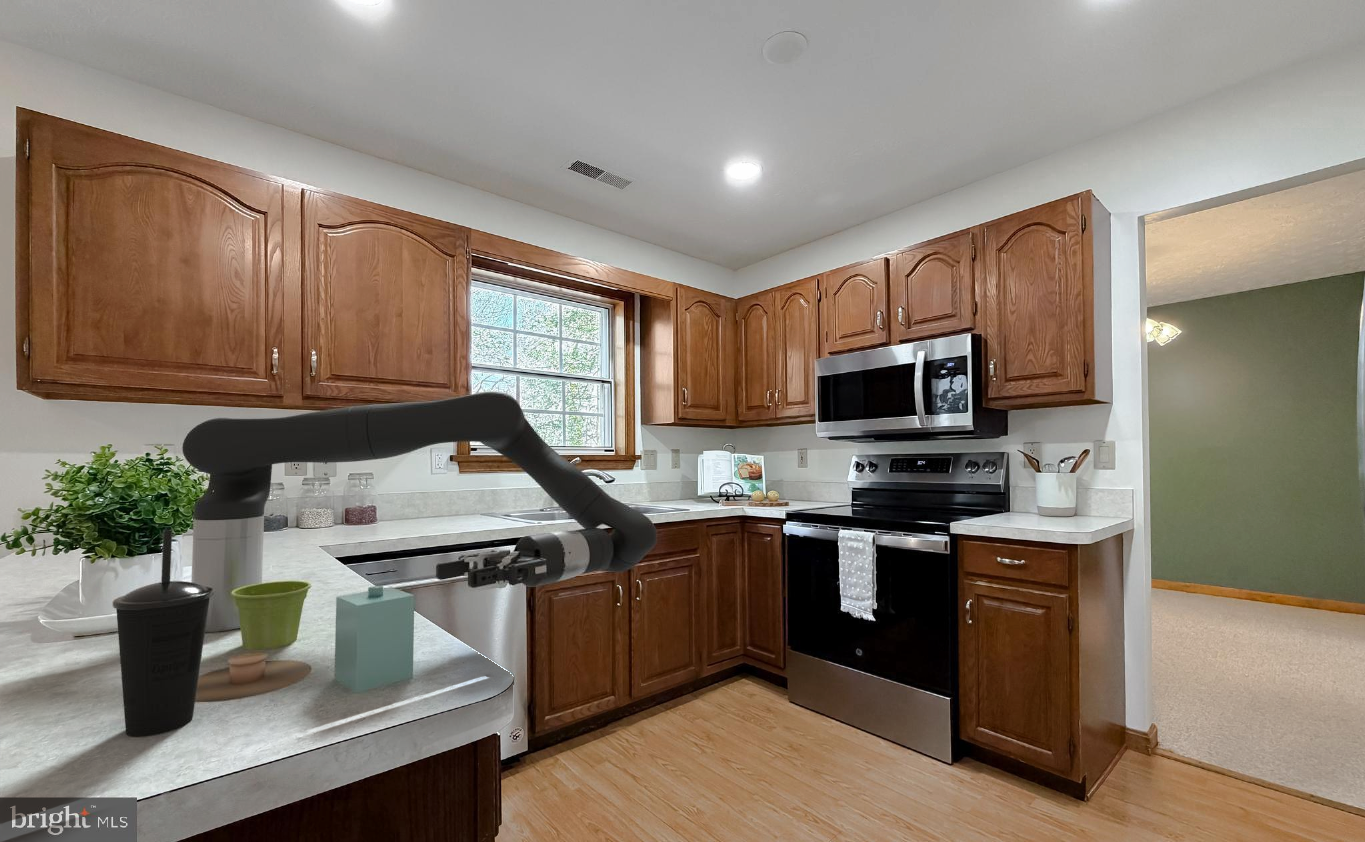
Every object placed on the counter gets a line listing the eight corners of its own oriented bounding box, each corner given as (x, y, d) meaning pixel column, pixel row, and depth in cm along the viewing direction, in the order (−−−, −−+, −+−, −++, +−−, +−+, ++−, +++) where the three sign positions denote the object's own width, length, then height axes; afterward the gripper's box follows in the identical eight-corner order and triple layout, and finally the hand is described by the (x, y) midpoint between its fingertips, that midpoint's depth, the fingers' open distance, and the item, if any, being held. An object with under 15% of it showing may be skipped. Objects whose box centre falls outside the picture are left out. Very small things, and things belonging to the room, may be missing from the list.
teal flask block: (334, 682, 72) (336, 588, 72) (389, 667, 77) (391, 579, 77) (355, 696, 68) (357, 596, 68) (412, 680, 72) (414, 586, 73)
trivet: (165, 689, 71) (165, 680, 71) (291, 660, 81) (292, 653, 81) (188, 722, 63) (189, 712, 63) (327, 685, 72) (327, 676, 72)
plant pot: (324, 640, 90) (326, 581, 90) (276, 662, 80) (278, 596, 81) (265, 638, 91) (267, 580, 91) (211, 660, 81) (213, 594, 82)
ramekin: (223, 679, 72) (224, 657, 72) (261, 670, 75) (262, 650, 75) (231, 687, 69) (232, 665, 69) (270, 678, 72) (271, 656, 72)
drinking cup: (197, 711, 65) (204, 523, 66) (218, 732, 60) (225, 529, 61) (99, 737, 59) (109, 531, 60) (114, 763, 54) (123, 537, 55)
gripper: (524, 529, 98) (426, 543, 86) (581, 535, 89) (480, 552, 77) (525, 576, 98) (427, 596, 86) (582, 587, 89) (481, 612, 76)
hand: (452, 575), depth 81 cm, fingers open, 8 cm apart
